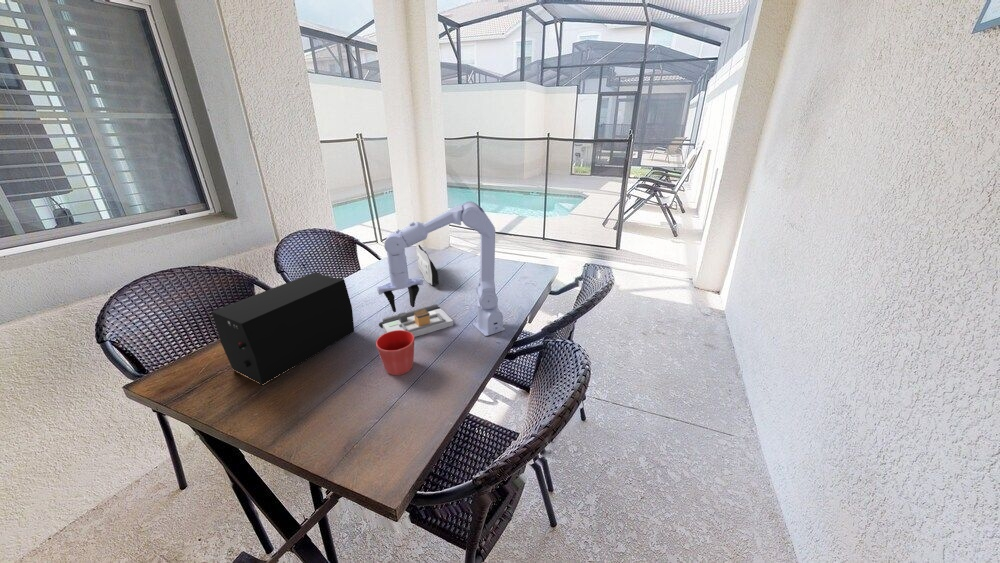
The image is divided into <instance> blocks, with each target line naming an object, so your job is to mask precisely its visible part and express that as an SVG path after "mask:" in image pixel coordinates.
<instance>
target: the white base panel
mask: <svg viewBox="0 0 1000 563" xmlns="http://www.w3.org/2000/svg"><path fill="white" fill-rule="evenodd" d="M428 313H429V314H430V315H429V318H430V324H426V325H423V326H420V327H418V325H417V324H416V323H415V317H414V316H411V317H407V315H406V313H405V312H401V313H398V317H399V320H396V321H393V322H389V323H385V324H382V325H383V326H382V329H383V331H384V332H385V333H387V332H390V331H395V330H405V331H409V332H410V333H412V334H413V335H414V338H417V337H420V336H423V335H426V334H429V333H433V332H435V331H436V332H437V331H438V330H442V329H446V328H449V327H453V326H454V320H453V319H452V318H451V317H450V316H449V315H448V314H447V313H446V312H445V311H444V310H443V309H441V307H440V309H436V310H433V311H429V312H428ZM385 333H384V334H385Z"/></svg>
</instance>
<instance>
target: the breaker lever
mask: <svg viewBox="0 0 1000 563" xmlns="http://www.w3.org/2000/svg"><path fill="white" fill-rule="evenodd" d="M429 315H430V314H429V313H428V311H427V310H426V309H422V310H419V311H415V312H414V317H415V323H416V324H417V325H418V327H420V326H423V325H426V324H430V318H429Z"/></svg>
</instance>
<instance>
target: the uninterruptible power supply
mask: <svg viewBox="0 0 1000 563" xmlns="http://www.w3.org/2000/svg"><path fill="white" fill-rule="evenodd" d="M211 314H212V315H211V316H212V319H213V322H214V324H215V327H216V331H217V335H218V337H219V342H220V344H221V346H222V348H223V350H224V351H223V352H225V355H226V357H227V359H228V362H229V364H230V367H231V368H233V369H234V370H236V371H238V372H240V373H242V374H244V375H246V376H248V377H249V378H251V379H253V380H255V381H257V382H259V383H260V384H264V383H266V382H267V381H269V380H271V379H273V378H274V377H276V376H278V375H279V374H282V373H283V372H285V371H287V370H288V369H290V368H292V367H294V366H296V365H297V366H299V365H300V364H299V363H301V362H302V363H304V362H305V360H306V359H307V360H309V359H310V357H311V358H312V357H314V356H316V355H318V354H319V353H321V352H322V351H324V350H325V349H328V348H329V347H331V346H332V345H334V344H336V343H337V342H339V341H341V340H343V339H344V338H346V337H348V336H349V335H352V334H353V333H354V332H355V324H354V316H353V306H352V303H351V298H350V295H349V292H348V287H347V285H346V281H345V279H344V278H336V277H332V276H328V275H325V274H321V273H320V272H317V271H314V272H312V273H310V274H309V273H308V274H307V275H303V276H301V277H299V278H296V279H293V280H291V281H287V282H285V283H283V284H279V285H277V286H275V287H272V288H270V289H266V290H264V291H262V292H259V293H257V294H253V295H251V296H248V297H246V298H244V299H243V298H242V300H239V301H236V302H233V303H231V304H228V305H225V306H222V307H220V308H217V309H214V310H212V311H211ZM318 352H319V353H318ZM315 354H316V355H315ZM313 355H314V356H313ZM308 358H309V359H308ZM307 360H306V361H307ZM303 361H304V362H303ZM302 363H301V364H302ZM298 364H299V365H298ZM297 366H296V367H297ZM294 368H295V367H294ZM233 369H232V370H233ZM292 369H293V368H292ZM287 372H288V371H287ZM282 375H283V374H282ZM260 384H259V385H260Z"/></svg>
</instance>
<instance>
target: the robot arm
mask: <svg viewBox="0 0 1000 563" xmlns="http://www.w3.org/2000/svg"><path fill="white" fill-rule="evenodd" d="M462 223H463V225H464V226H466V227H467V228H470V229H473V230H474V231H476V233H478V234H480V236H479V239H480V240H479V245H480V246H479V248H480V250H479V251H480V254H479V259H480V260H479V274H480V275H479V281H478V285H477V287H476V294H477V296H478V300H477V302H476V318H477V319H476V320H477V321H476V322H473V323H472V325H473V327H475V329H477V330H478V331H479V332H480V333H482V335H484V336H485V337H488V336H491V335H494V334H497V333H500V332H503V331H505V330H506V328H505V327H504V325H503V324H504V321H503V320H504V314H503V313H502V311H501V310H500V309H499V306H498V301H499V298H498V295H497V294H496V284H495V283H496V282H495V268H496V267H495V265H496V264H495V262H496V261H495V260H496V258H495V256H496V254H495V253H496V227H495V225H494V223H492V220H491V219H490V218H489V216H488V215H487V213H486V211H484V208H483V207H481V206H480V205H478V203H476V202H474V201H470V200H469V201H466V202H464V203H463V204H457V205H456V206H454V207H452V208H450V209H448V210H446V211H445V212H442V213H441V214H439V215H436V216H435V217H433V218H431V219H430V220H429V219H428V221H425V222H424V223H423V222H420V221H416V222H414V221H412V222H409V225H408V226H406V227H404V228H402V229H396V230H395V231H394V232H391V233H389V234H388V235H387V237H386V238H385V241H384V245H383V246H384V250H385V251H386V256H387V264H388V272H389V279H390V282H388V283H386V284H383V285H381V286H377V287H376V291H377V294H378V295H379V296H380V295H384V296H385V298H386V299H387V301H388V303H389V304H390V307H391V310H392V311H393V313H396V312H397V308H396V303H395V300H396V298H395V296H396V295H395V294H394V293H393V292H394V291H399V290H403V289H407V290H408V294H409V304H410V306H411V308H415V306H416V305H415V304H416V300H417V299H416V298H417V296H418V293H419V292H420V287H419V286H423V285H424V280H423V278H421V277H416V278H410V277H409V270H408V268H409V267H408V262H407V260H408V259H407V256H406V250H405V248H410V247H412V246H413V245H417V244H418V243H420V242H422V241H424V240H426V239H428V235H429V234H430V233H432V232H434V231H436V230H438V229H441V228H444V227H445V226H447V225H450V224H454V225H458V226H462Z"/></svg>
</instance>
